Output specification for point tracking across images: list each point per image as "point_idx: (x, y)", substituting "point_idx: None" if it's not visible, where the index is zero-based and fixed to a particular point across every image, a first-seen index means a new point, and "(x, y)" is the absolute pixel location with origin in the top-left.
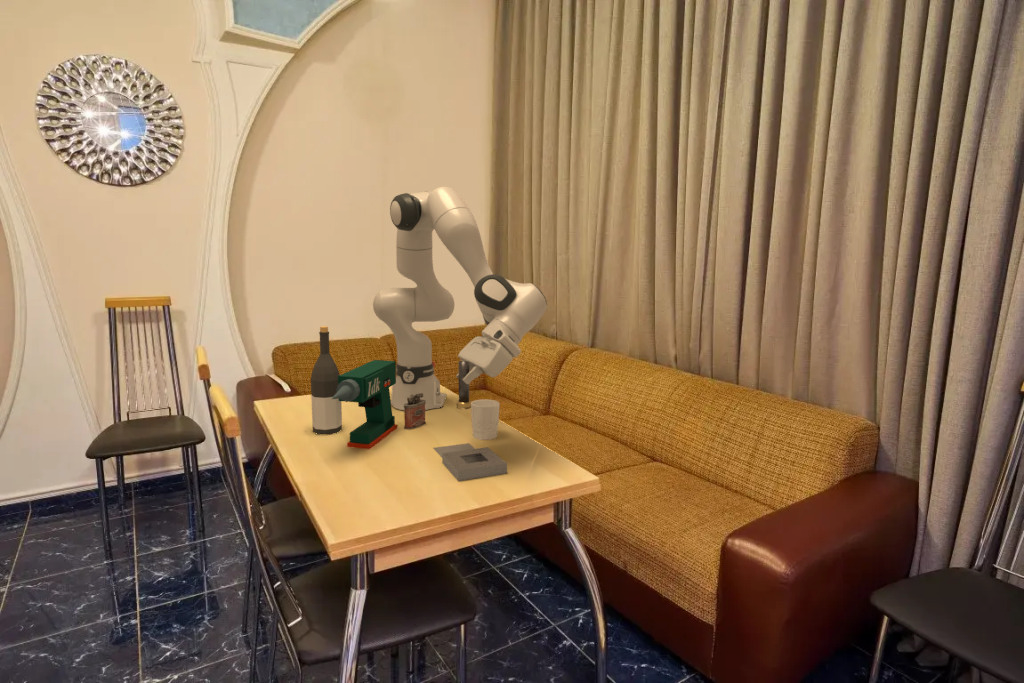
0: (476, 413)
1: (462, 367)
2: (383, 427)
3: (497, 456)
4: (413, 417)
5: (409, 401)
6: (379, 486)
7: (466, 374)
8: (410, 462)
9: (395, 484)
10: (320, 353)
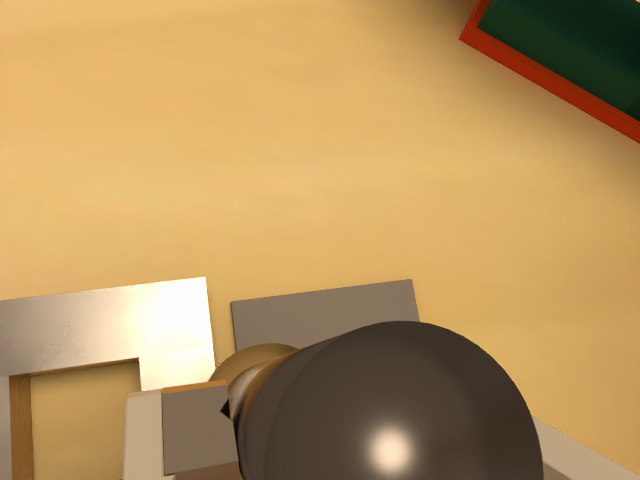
0: None
1: (260, 398)
2: (621, 87)
3: None
4: None
5: None
6: (44, 9)
7: (190, 464)
8: (272, 160)
9: (43, 65)
10: None
